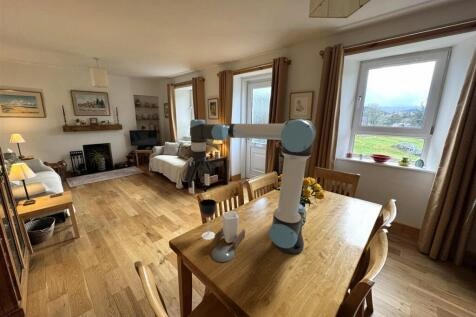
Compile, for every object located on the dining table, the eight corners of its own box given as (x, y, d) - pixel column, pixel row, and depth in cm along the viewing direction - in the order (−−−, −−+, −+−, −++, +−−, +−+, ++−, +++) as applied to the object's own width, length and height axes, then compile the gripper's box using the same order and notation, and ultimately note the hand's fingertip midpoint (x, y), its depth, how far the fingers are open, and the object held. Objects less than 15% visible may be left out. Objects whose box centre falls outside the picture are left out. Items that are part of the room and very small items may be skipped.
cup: (239, 242, 101) (239, 216, 97) (226, 245, 98) (226, 219, 95) (233, 234, 107) (234, 210, 104) (221, 237, 104) (221, 212, 101)
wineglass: (213, 241, 101) (213, 206, 97) (198, 238, 103) (197, 204, 99) (218, 232, 109) (218, 200, 105) (203, 230, 111) (203, 198, 106)
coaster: (238, 250, 95) (238, 249, 94) (227, 265, 85) (227, 264, 85) (219, 243, 99) (219, 242, 99) (207, 257, 90) (207, 256, 89)
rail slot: (244, 236, 105) (245, 229, 104) (235, 250, 95) (235, 242, 94) (225, 230, 110) (226, 224, 109) (214, 242, 100) (214, 235, 99)
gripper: (206, 146, 110) (207, 181, 115) (175, 153, 89) (178, 195, 93) (217, 147, 107) (217, 183, 112) (188, 155, 85) (190, 198, 90)
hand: (199, 188), depth 102 cm, fingers open, 13 cm apart
